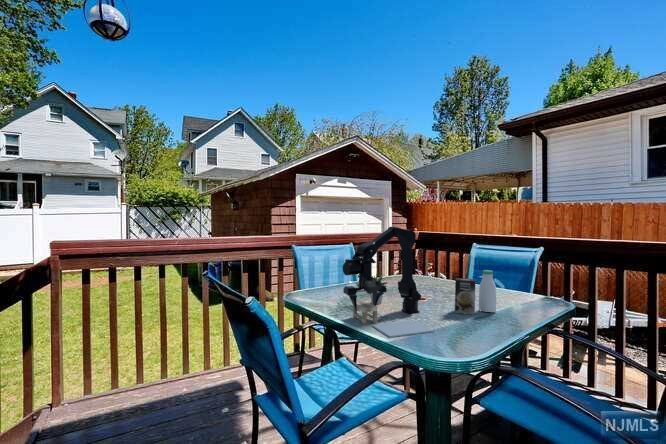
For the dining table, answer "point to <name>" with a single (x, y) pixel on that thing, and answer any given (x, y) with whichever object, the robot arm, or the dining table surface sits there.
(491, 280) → the milk bottle
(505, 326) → the dining table surface
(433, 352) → the dining table surface
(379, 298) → the house plant
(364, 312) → the stool
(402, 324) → the mat
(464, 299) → the coffee box
